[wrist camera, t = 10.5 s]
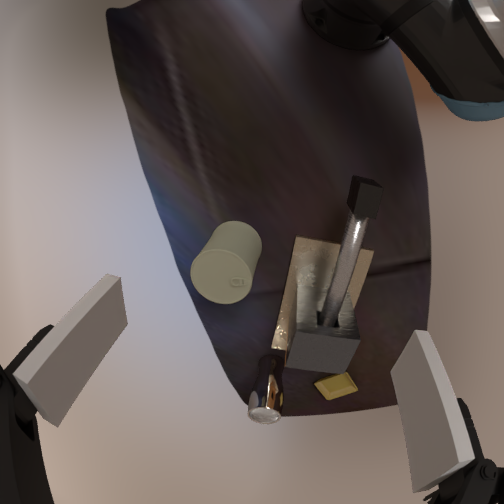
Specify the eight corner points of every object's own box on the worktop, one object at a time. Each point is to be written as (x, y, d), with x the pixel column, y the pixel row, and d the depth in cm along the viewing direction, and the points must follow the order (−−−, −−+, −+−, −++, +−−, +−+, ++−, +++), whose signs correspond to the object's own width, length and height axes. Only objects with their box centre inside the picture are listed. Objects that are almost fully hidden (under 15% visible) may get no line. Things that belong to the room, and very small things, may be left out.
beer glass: (251, 358, 63) (239, 410, 50) (277, 349, 61) (270, 404, 47) (266, 375, 65) (258, 426, 52) (292, 367, 63) (288, 420, 49)
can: (260, 270, 53) (250, 310, 42) (211, 265, 54) (190, 301, 43) (263, 223, 49) (253, 254, 38) (210, 218, 50) (187, 247, 39)
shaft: (352, 175, 36) (360, 182, 31) (373, 179, 36) (383, 188, 31) (310, 331, 48) (310, 351, 43) (326, 333, 48) (328, 354, 43)
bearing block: (296, 234, 49) (295, 276, 36) (373, 248, 48) (394, 292, 35) (271, 344, 60) (264, 395, 48) (333, 353, 59) (337, 404, 47)
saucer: (327, 394, 66) (327, 400, 65) (313, 377, 64) (313, 383, 62) (357, 384, 63) (358, 390, 62) (346, 365, 61) (347, 372, 59)
